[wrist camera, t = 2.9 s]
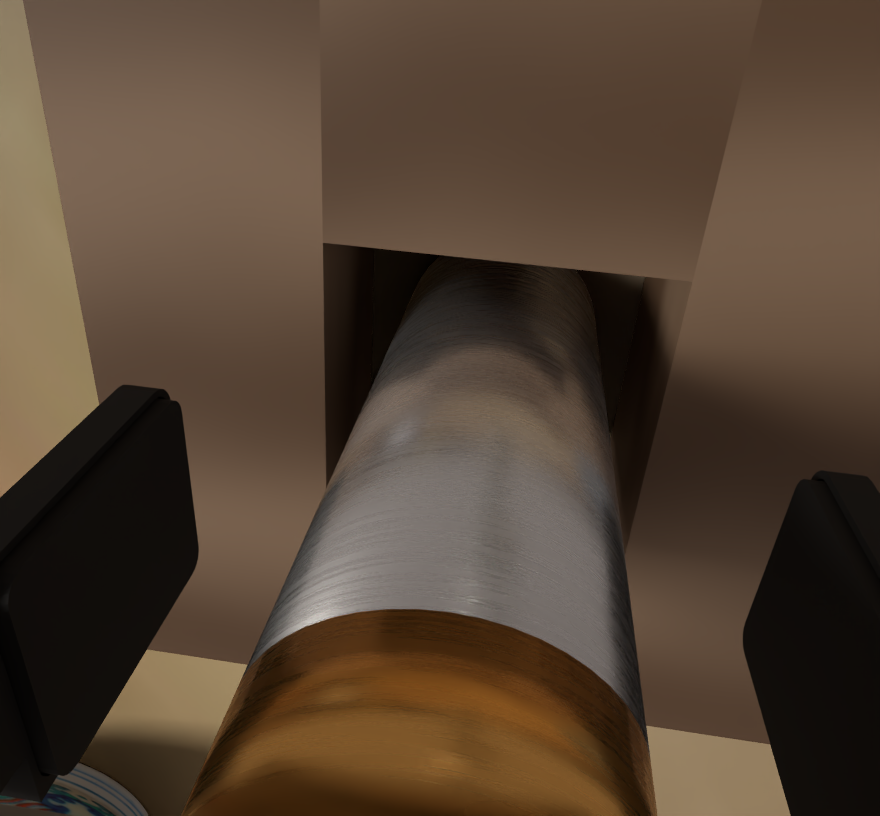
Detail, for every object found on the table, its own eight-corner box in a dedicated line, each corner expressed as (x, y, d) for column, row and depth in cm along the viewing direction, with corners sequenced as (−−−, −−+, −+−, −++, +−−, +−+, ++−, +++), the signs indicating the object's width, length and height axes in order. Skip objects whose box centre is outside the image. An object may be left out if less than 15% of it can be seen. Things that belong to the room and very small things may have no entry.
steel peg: (413, 225, 15) (125, 733, 5) (610, 245, 15) (736, 832, 5) (405, 395, 17) (187, 1009, 7) (578, 416, 17) (619, 1091, 7)
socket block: (146, -83, 13) (3, -105, 10) (978, -24, 12) (1146, -25, 9) (214, 535, 20) (145, 649, 17) (744, 609, 19) (786, 746, 16)
